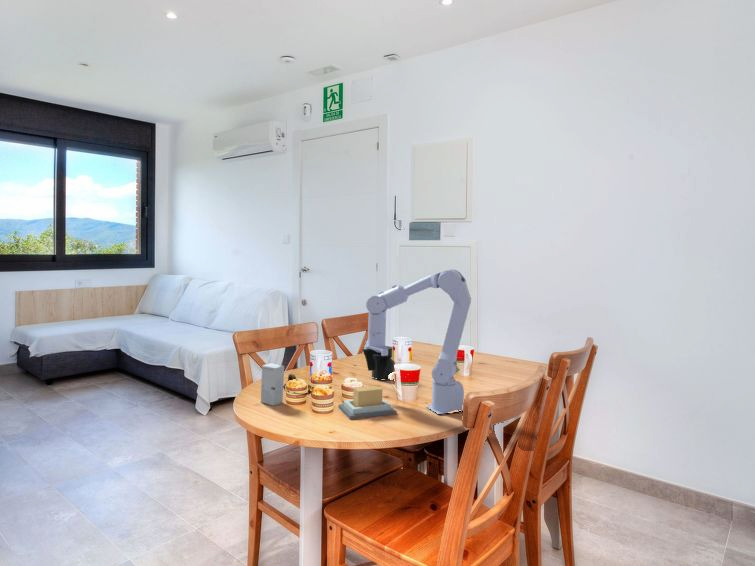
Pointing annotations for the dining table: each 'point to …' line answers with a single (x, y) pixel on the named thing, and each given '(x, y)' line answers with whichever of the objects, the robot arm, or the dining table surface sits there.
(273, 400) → the skincare box
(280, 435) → the dining table surface
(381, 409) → the board
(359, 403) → the ochre block
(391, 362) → the ink bottle
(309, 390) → the seal
